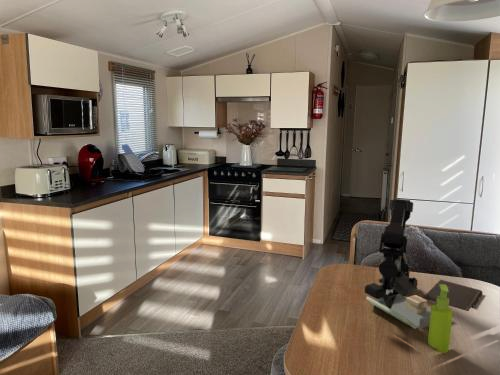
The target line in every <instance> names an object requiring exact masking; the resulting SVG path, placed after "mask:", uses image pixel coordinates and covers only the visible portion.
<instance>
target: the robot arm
mask: <svg viewBox="0 0 500 375" xmlns="http://www.w3.org/2000/svg"><path fill="white" fill-rule="evenodd" d="M388 204H389V205H388V210H389V211H390V222H389V224H387V226H385V228H384V231H383V232H382V233H381V235H380V236H381V238H380V242H379V251H378V253H380V254H383V255H382V258H381V260H380V263H379V265H378V270H379V273H380V275H381V278H379V279H378V282H379V283H380V284H381V285H379V284H377V283H375V282H372V283H369V284H366V285H365V286H364V294H366V295H368V296H369V297H371V298H372V297H373V298H374V299H376V300H377V299H380V298H383V299H384V302H385V304H386V306H387V307H388V308H390V309H391V307H392V305H393V303H394V301H395V299H396V297H397V295H399V294H400V295H402V296H403V297H404V298H406V297H408V296H412V295H413V293H414V291H415V290H418V279H417V278H416V277H410V271H411V267H410V266H409V263H407V261H408V258H407V256H406V254H407V249H408V248H407V247H408V242H409V241H408V240H409V239H407V238H408V237H407V236H406V225H407V224H406V223H407V221H408V220H409V219H410V218H411V213H414V212H413V211H414V202H412V201H411V200H410V199H402V198H393V199H390V200H389V203H388Z"/></svg>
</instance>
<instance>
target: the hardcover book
mask: <svg viewBox="0 0 500 375" xmlns="http://www.w3.org/2000/svg"><path fill="white" fill-rule="evenodd" d="M439 284H445V285H446V286H447V288H448V292H447V298H449V306H450V307H453V308H457V309H460V310H462V311H467V312H469V311H470V309H474V308H475V306H476V304H477V303H478V301H479V300H480V299H481V297H482V296H483V291H482V290H481V289H477V288H473V287H470V286H466V285H462V284H459V283H455V282H451V281H447V280H444V279H439V281H437V283H435V285H433V287H432V288H431V289H430V290H429V291H427V293H426V294H425V295H424V296H423V297H422V298H423V299H425V300H426V299H427V300H430V301H433V302H437V297H438V296H440V294H441V289H440V286H439ZM481 295H482V296H481ZM479 298H480V299H479Z"/></svg>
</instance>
